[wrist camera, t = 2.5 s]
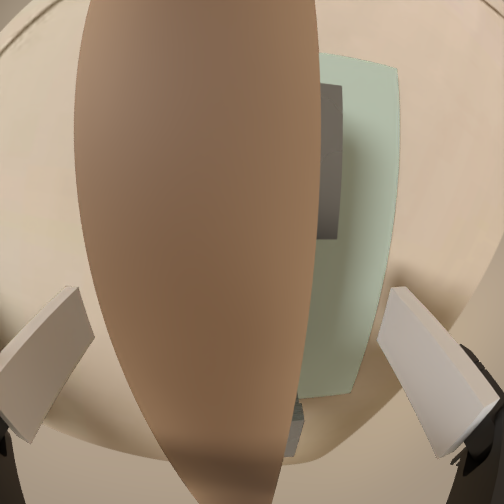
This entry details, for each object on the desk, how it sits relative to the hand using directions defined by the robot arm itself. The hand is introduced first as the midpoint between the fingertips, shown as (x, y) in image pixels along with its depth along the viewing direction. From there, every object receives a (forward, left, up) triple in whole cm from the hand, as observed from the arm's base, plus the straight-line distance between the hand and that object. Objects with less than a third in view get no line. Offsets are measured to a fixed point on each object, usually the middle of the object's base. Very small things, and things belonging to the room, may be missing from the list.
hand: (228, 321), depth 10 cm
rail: (0, 0, +1) cm, 1 cm away
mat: (+6, 0, -6) cm, 9 cm away
